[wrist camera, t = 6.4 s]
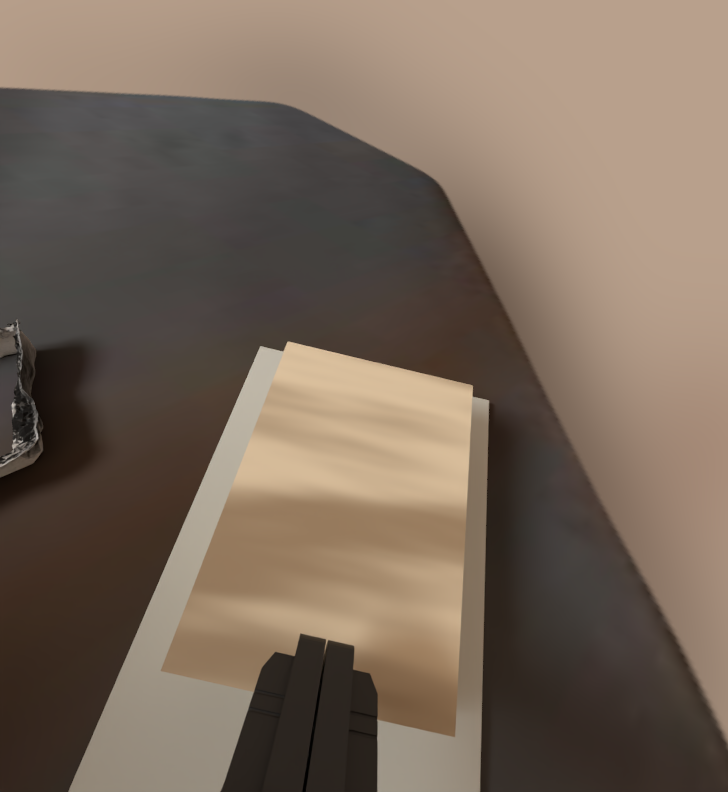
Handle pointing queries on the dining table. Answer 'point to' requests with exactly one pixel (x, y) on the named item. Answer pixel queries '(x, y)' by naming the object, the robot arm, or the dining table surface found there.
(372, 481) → the maple slab
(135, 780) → the felt mat
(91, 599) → the dining table surface
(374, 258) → the dining table surface
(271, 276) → the dining table surface
